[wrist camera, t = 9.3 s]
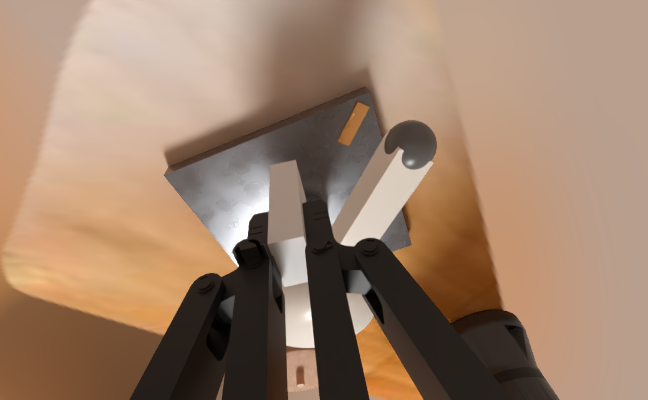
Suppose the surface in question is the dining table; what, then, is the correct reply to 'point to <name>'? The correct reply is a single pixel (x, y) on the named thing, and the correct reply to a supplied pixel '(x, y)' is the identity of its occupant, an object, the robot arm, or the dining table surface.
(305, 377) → the lidded jar
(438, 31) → the dining table surface
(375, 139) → the base
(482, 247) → the dining table surface
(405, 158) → the coupling lever handle
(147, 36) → the dining table surface
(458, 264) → the dining table surface
